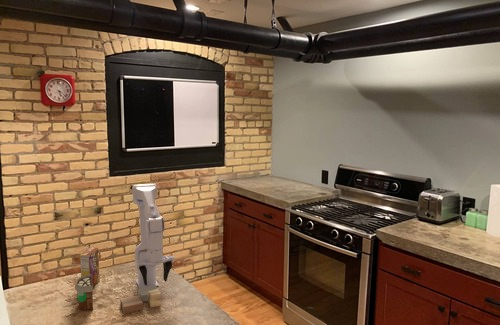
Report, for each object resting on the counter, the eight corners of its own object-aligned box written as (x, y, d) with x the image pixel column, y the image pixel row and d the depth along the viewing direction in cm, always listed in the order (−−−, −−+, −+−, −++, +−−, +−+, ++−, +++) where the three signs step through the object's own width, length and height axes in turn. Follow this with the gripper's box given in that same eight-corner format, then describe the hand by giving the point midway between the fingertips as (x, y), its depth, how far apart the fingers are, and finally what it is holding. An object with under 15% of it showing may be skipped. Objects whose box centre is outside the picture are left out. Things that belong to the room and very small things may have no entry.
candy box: (90, 280, 167) (89, 247, 165) (100, 280, 167) (99, 247, 165) (80, 289, 158) (79, 254, 156) (90, 289, 158) (89, 255, 156)
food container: (75, 300, 149) (74, 275, 148) (92, 297, 152) (91, 273, 151) (75, 315, 138) (73, 289, 137) (93, 312, 141) (92, 286, 139)
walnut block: (120, 306, 146) (120, 298, 146) (138, 302, 149) (138, 294, 149) (123, 314, 140) (123, 306, 140) (142, 310, 143) (142, 302, 143)
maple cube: (148, 303, 148) (148, 291, 147) (158, 300, 150) (158, 289, 149) (150, 307, 145) (150, 295, 144) (161, 305, 146) (160, 293, 146)
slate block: (138, 295, 155) (138, 288, 155) (155, 291, 158) (155, 284, 158) (142, 302, 149) (141, 295, 149) (159, 298, 152) (159, 291, 152)
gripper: (137, 255, 137) (138, 290, 139) (176, 249, 144) (176, 282, 145) (134, 248, 143) (134, 282, 145) (171, 243, 150) (171, 275, 152)
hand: (155, 282), depth 145 cm, fingers open, 7 cm apart
